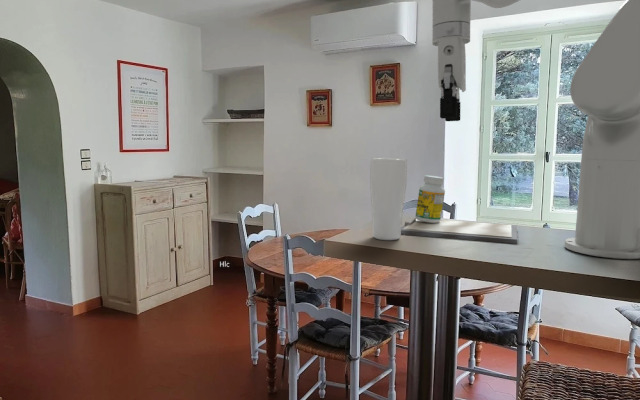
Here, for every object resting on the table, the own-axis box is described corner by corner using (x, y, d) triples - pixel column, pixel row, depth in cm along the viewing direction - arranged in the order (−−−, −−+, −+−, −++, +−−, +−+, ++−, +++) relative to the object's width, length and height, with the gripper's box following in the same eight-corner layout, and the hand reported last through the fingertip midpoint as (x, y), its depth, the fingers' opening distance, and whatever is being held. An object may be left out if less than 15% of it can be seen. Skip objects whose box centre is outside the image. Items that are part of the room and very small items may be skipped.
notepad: (516, 229, 102) (516, 221, 101) (517, 243, 87) (517, 235, 87) (412, 221, 110) (412, 214, 109) (397, 233, 95) (397, 225, 95)
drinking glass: (393, 243, 86) (396, 159, 84) (361, 238, 90) (363, 158, 88) (410, 237, 91) (413, 159, 89) (380, 233, 95) (382, 157, 94)
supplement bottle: (445, 223, 102) (452, 179, 101) (425, 223, 100) (433, 178, 98) (428, 217, 107) (435, 175, 106) (409, 217, 104) (416, 173, 103)
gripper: (467, 23, 89) (466, 116, 91) (472, 42, 105) (471, 121, 107) (426, 27, 92) (426, 117, 93) (437, 46, 108) (437, 122, 109)
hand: (450, 119), depth 100 cm, fingers open, 9 cm apart
